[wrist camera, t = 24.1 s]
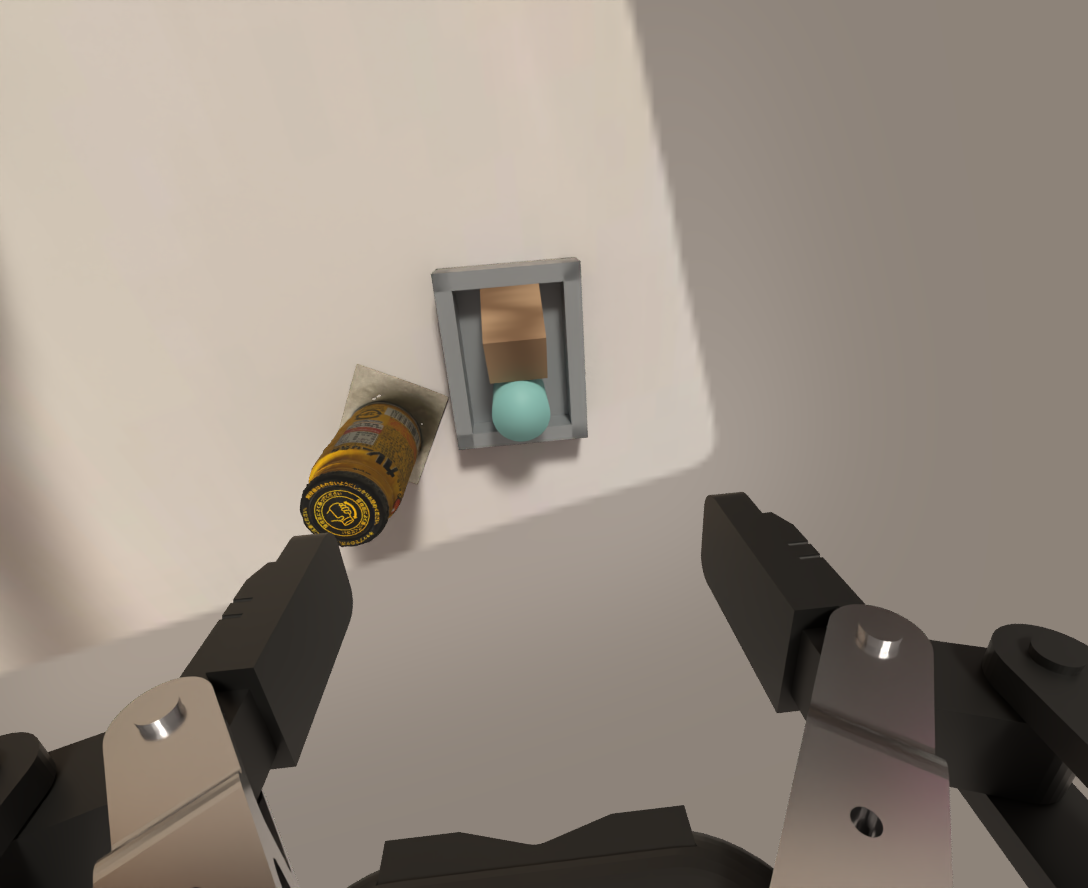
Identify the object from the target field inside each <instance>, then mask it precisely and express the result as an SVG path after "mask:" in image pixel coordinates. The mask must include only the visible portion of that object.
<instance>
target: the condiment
mask: <svg viewBox="0 0 1088 888" xmlns="http://www.w3.org/2000/svg"><path fill="white" fill-rule="evenodd" d="M379 394H380V395H381V396H380V397H379V398H376V396H377V395H379ZM372 398H376V400H372ZM447 400H448V397H447V396H445V395H442V394H439V393H437V392H435V391H432V390H429V389H427V388H424V387H421V386H418V385H416V384H413V383H410V382H407V381H405V380H402V379H399V378H396V377H394V376H390V375H387V374H384V373H381V372H379V371H376V370H373V369H370V368H367V367H364V366H361V365H359V364H357V365H356V369H355V372H354V376H353V380H352V383H351V387H350V391H349V394H348V398H347V402H346V405H345V409H344V413H343V417H342V420H341V424H340V428H339V431H338V432H337V434H336V436H335V437H334V439H333V440H332V441H331V443H330V444H329V445H328V446H327V447H326V448H325V449H324V450H323V453H322V455H321V456H320V457H319V459H318V460H317V462H316V463H315V465H314V466H313V468H312V470H311V473H310V477H309V484H307V487H306V488H305V490H303V494H302V498H301V502H300V503H301V504H300V512H301V515H302V517H303V521H304V524H305V526H306V527H307V528H308V529H309V530H310V531H311V532H312V533H313V534H321V533H332V534H333V535H334V536H335V538H336V540H337V543H338V546H341V547H346V546H358V545H361V544H364V543H367V542H370V541H371V540H373V539H374V538H375V537H377V536H378V535H379V534H380V533H381V531H382V530H383V529H384V527H385V525H386V524H387V521H388V518H390V517H391V516H392V515H393V514H394V513H395V511H396V510H397V508H398V506H399V505H400V503H401V501H402V498H403V495H404V492H405V489H406V486H407V483H408V482H411V483H415V484H418V482H419V479H420V476H421V473H422V470H423V468H424V465H425V462H426V459H427V456H428V453H429V451H430V448H431V445H432V442H433V439H434V437H435V434H436V431H437V428H438V425H439V422H440V420H441V417H442V414H443V411H444V408H445V406H446V403H447ZM421 423H423V425H421Z"/></svg>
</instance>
